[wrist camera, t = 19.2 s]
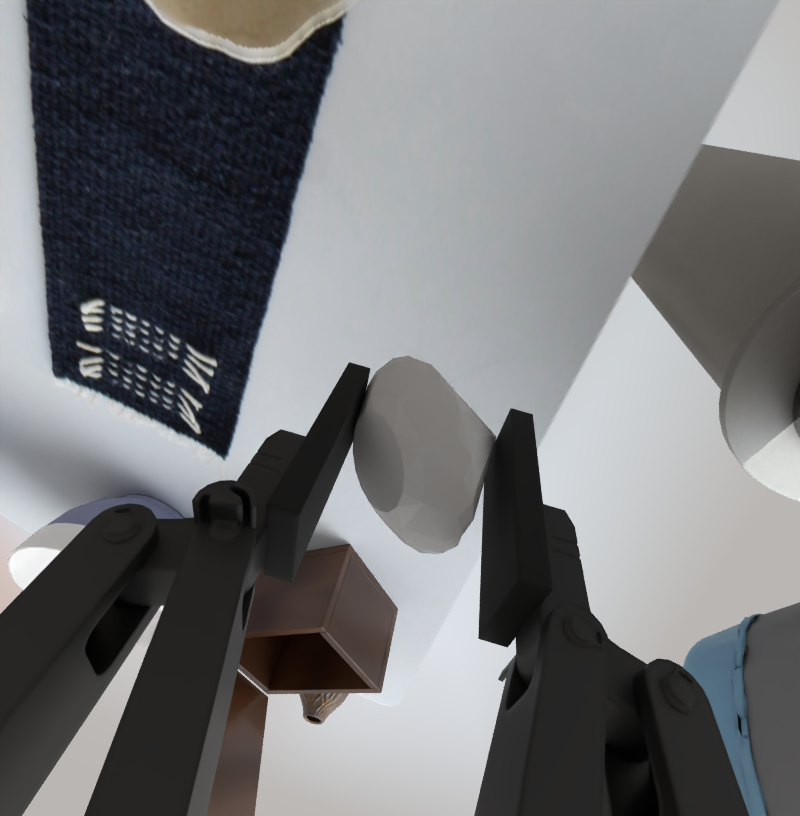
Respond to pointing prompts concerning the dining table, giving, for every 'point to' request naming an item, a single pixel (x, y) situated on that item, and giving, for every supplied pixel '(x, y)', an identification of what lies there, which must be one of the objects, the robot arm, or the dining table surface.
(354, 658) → the chest
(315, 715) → the vase
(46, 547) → the bowl
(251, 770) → the lid
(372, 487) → the grey rounded piece
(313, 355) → the dining table surface
